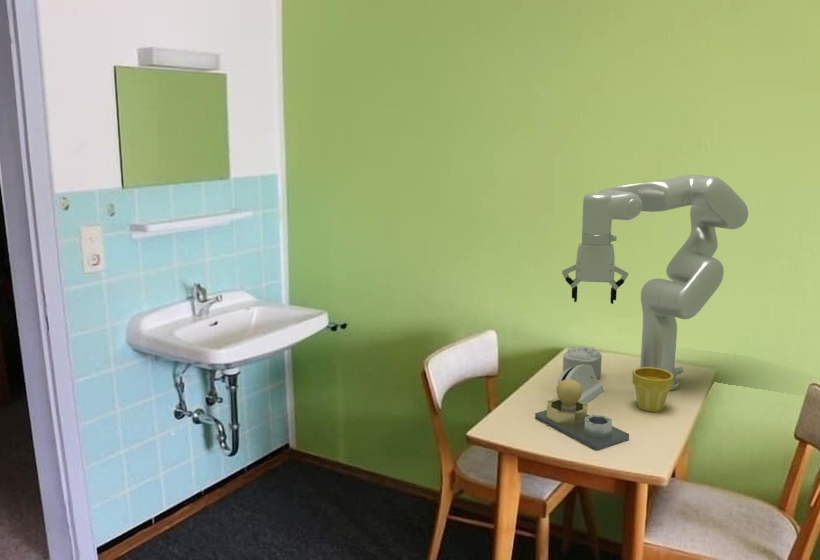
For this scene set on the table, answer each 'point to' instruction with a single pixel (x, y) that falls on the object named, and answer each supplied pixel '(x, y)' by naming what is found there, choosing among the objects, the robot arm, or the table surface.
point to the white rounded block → (584, 381)
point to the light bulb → (569, 394)
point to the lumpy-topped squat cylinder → (583, 359)
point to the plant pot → (652, 387)
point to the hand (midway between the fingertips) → (593, 301)
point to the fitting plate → (582, 425)
